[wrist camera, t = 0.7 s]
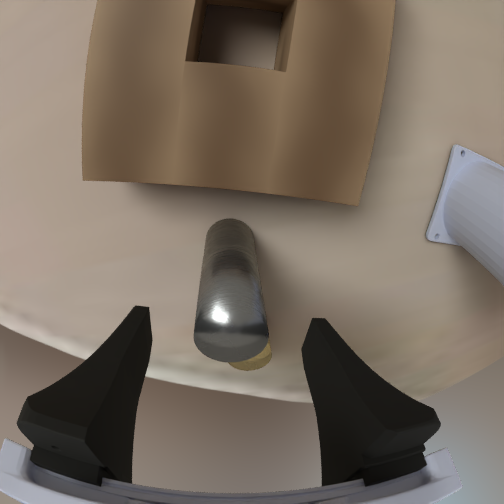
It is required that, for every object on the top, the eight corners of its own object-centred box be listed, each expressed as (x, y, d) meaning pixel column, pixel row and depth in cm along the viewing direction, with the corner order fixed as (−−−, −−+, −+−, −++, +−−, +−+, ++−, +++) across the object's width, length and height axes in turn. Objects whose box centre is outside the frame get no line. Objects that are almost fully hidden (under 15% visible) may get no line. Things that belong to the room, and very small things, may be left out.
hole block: (365, -35, 11) (397, -58, 7) (331, 181, 19) (358, 206, 15) (147, -62, 9) (129, -93, 5) (113, 160, 17) (82, 180, 13)
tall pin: (256, 221, 20) (275, 313, 12) (250, 262, 21) (262, 363, 13) (207, 216, 19) (194, 307, 11) (204, 259, 21) (193, 359, 13)
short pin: (269, 305, 23) (275, 342, 20) (262, 334, 25) (267, 370, 21) (228, 303, 23) (228, 340, 19) (224, 332, 24) (224, 369, 21)
